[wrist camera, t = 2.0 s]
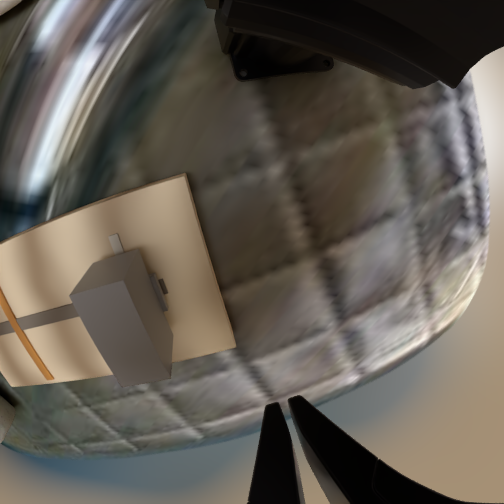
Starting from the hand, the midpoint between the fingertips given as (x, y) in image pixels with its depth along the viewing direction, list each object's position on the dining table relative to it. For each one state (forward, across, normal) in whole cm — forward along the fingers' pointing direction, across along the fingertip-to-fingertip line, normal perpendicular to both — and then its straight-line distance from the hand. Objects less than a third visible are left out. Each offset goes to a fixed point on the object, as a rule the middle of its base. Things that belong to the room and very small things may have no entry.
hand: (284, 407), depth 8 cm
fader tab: (+11, +6, 0) cm, 12 cm away
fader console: (+13, +12, 0) cm, 18 cm away
